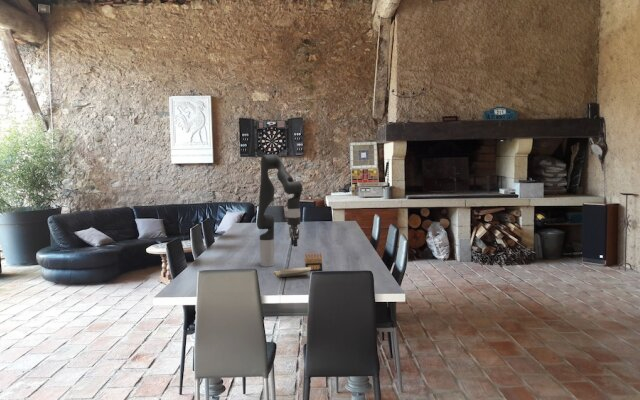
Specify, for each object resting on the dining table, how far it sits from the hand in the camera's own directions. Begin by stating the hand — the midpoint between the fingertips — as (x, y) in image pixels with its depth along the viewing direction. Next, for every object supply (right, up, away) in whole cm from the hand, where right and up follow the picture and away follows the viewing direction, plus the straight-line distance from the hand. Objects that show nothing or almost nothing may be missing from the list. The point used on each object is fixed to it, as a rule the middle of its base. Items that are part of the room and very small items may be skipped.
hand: (294, 245), depth 292 cm
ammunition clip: (+11, -18, +20) cm, 29 cm away
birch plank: (0, -16, +2) cm, 17 cm away
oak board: (-3, -18, +12) cm, 22 cm away
